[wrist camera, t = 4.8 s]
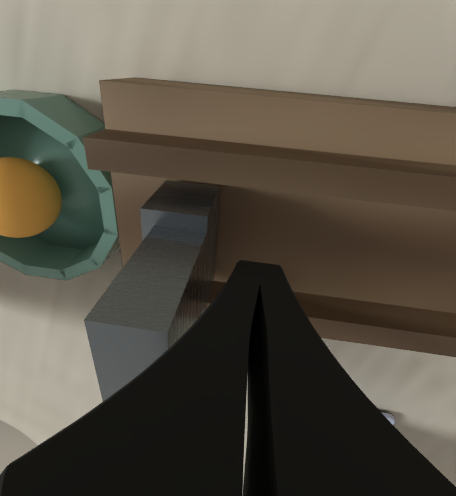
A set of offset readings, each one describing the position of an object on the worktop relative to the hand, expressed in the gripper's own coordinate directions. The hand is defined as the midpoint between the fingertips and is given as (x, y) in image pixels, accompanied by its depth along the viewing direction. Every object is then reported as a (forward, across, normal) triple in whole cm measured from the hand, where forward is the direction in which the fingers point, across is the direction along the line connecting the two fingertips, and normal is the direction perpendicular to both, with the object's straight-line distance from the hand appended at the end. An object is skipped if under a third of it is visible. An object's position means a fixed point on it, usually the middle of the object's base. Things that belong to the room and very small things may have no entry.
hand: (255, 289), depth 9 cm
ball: (+4, +11, 0) cm, 12 cm away
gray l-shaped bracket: (+3, +3, 0) cm, 4 cm away
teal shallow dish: (+6, +10, 0) cm, 12 cm away
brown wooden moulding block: (+6, -3, 0) cm, 7 cm away
